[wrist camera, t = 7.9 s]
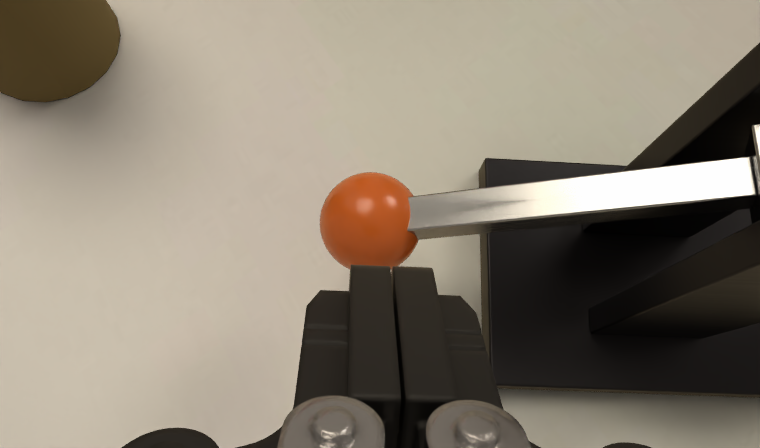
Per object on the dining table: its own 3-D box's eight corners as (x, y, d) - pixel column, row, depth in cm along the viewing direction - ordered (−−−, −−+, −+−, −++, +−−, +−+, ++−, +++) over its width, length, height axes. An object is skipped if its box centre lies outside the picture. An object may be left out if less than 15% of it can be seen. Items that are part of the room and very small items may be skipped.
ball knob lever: (344, 286, 22) (297, 263, 19) (348, 198, 23) (304, 163, 20) (881, 250, 16) (924, 209, 14) (855, 135, 17) (891, 75, 15)
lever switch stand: (482, 388, 25) (626, 338, 13) (478, 169, 27) (592, -43, 15) (787, 398, 25) (1203, 361, 13) (751, 184, 28) (1067, -8, 16)
